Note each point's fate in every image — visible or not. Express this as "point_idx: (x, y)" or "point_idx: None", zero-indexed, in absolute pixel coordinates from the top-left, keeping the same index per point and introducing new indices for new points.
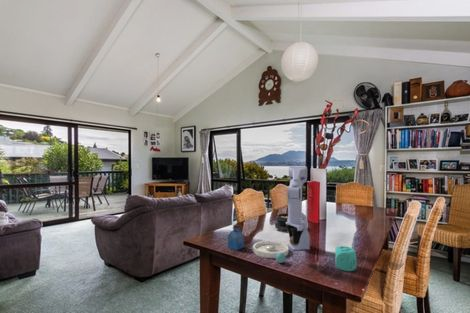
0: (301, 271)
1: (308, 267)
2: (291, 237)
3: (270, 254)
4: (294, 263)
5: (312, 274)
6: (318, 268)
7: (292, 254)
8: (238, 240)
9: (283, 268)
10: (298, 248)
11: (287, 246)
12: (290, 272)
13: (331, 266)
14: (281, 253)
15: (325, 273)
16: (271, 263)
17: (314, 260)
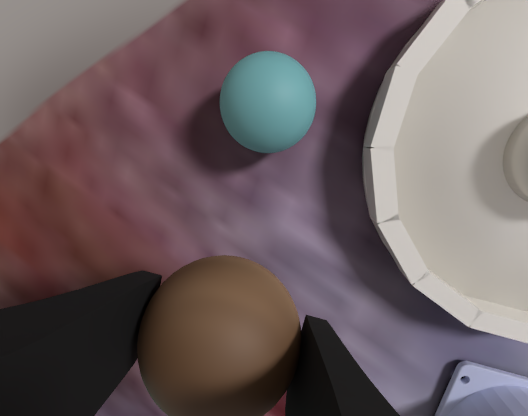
0: (87, 177)
1: (130, 262)
2: (211, 320)
3: (401, 55)
4: (219, 210)
5: (33, 219)
6: None
7: (381, 300)
8: None
9: (165, 72)
10: (451, 411)
11: (493, 330)
12: (90, 88)
13: (106, 400)
14: (250, 102)
15: (30, 302)
16: (284, 18)
17: None
